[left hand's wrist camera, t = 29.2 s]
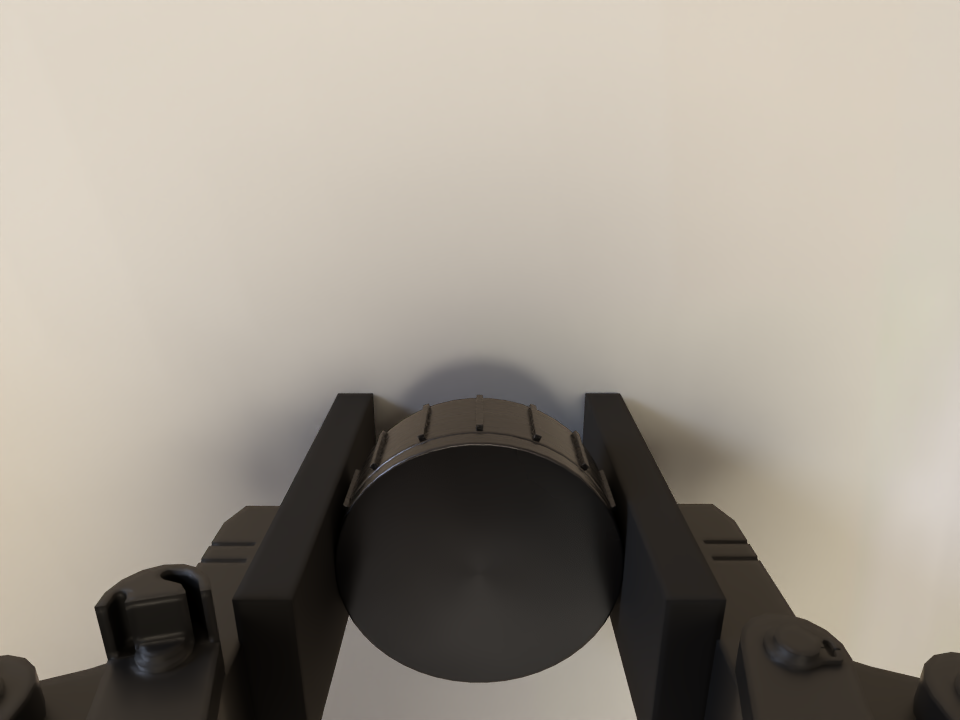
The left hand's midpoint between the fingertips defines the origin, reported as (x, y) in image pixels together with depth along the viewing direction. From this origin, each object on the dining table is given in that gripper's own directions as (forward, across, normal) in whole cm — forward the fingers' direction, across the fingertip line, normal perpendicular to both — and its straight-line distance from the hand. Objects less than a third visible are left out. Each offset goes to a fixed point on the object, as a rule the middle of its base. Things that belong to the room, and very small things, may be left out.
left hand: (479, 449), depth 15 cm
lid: (-4, 0, 0) cm, 4 cm away
